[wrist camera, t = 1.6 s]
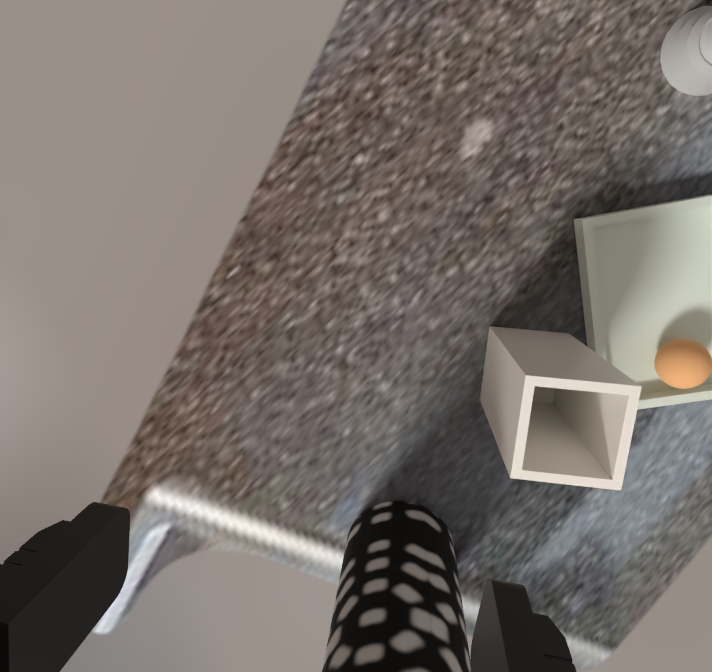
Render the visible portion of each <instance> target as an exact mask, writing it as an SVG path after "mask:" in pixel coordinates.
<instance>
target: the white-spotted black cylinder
mask: <svg viewBox="0 0 712 672" xmlns="http://www.w3.org/2000/svg"><path fill="white" fill-rule="evenodd" d="M322 672H471V663H470V656H469V649H468V642H467V635H466V627H465V620H464V613H463V606H462V599H461V592H460V585H459V577H458V570H457V563H456V556H455V549H454V543H453V539H452V536H451V534H450V532H449V529H448V527H447V526H446V525H445V523H444V522H443V521H442V519H440V518H439V517H438V516H437V515H436V514H435V513H434V512H432V511H430V510H429V509H427V508H425V507H423V506H421V505H418V504H415V503H411V502H406V501H390V502H385V503H381V504H378V505H376V506H373V507H371V508H370V509H368V510H366V511H365V512H363V513H362V514H361V515H360V516H359V517H358V518H357V519H356V521H355V522H354V524H353V525H352V527H351V529H350V531H349V534H348V537H347V543H346V548H345V553H344V559H343V564H342V569H341V575H340V580H339V585H338V591H337V596H336V602H335V607H334V612H333V617H332V623H331V628H330V633H329V638H328V644H327V649H326V654H325V660H324V665H323V670H322Z"/></svg>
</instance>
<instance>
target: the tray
mask: <svg viewBox="0 0 712 672" xmlns="http://www.w3.org/2000/svg"><path fill="white" fill-rule="evenodd" d="M574 227H575V236H576V246H577V255H578V264H579V274H580V283H581V292H582V302H583V311H584V320H585V329H586V339H587V347H588V348H590V349H591V350H592V351H594V352H595V353H597V354H598V355H599V356H601V357H602V358H603V359H605V360H606V361H608V362H609V363H610V364H612V365H613V366H614V367H616V368H617V369H619V370H620V371H621V372H623V373H624V374H625V375H627V376H628V377H630V378H631V379H632V380H634V381H635V382H636V383H638V384H639V385H640V386H642V388H641V393H640V398H639V403H638V408H637V409H644V408H651V407H659V406H666V405H673V404H680V403H687V402H695V401H702V400H709V399H712V371H711V374H710V375H709V377H708V378H707V380H706V381H704V382H703V383H702V384H700V385H698V386H696V387H693V388H688V389H680V388H675V387H672V386H670V385H668V384H666V383H665V382H664V381H662V380H661V378H660V377H659V376H658V374H657V372H656V370H655V365H654V361H655V356H656V354H657V352H658V350H659V349H660V348H661V347H662V346H663V345H664V344H666V343H668V342H670V341H672V340H676V339H690V340H693V341H696V342H698V343H700V344H701V345H703V346H704V347H705V348H706V349H707V350H708V351H709V353H710V355H711V358H712V194H708V195H703V196H697V197H692V198H686V199H681V200H675V201H670V202H665V203H659V204H654V205H648V206H643V207H637V208H632V209H627V210H621V211H616V212H610V213H605V214H599V215H594V216H589V217H583V218H578V219H574Z"/></svg>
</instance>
